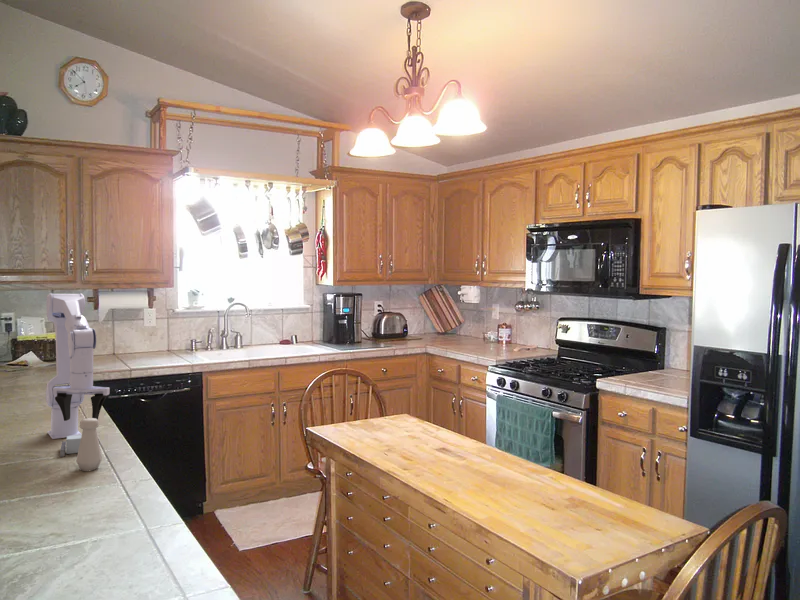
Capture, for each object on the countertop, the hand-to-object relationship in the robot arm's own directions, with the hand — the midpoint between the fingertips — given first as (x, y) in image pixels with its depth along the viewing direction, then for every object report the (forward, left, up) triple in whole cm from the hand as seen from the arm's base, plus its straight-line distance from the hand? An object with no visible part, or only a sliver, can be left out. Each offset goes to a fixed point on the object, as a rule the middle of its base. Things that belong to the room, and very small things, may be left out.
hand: (81, 420), depth 168 cm
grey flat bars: (-2, -1, -9) cm, 10 cm away
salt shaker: (+16, -1, -10) cm, 19 cm away
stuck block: (-2, -1, -9) cm, 10 cm away
